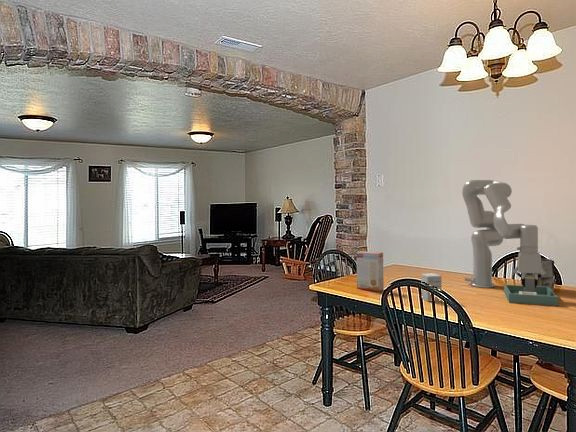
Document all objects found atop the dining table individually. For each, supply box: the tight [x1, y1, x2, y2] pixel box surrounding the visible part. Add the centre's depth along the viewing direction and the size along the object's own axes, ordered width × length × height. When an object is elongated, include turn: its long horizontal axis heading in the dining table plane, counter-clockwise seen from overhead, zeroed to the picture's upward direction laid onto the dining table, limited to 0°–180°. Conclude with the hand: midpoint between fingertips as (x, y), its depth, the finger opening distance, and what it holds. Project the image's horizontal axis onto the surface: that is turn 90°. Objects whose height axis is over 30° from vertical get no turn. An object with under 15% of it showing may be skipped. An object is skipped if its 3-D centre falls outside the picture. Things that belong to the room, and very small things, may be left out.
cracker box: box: [356, 250, 385, 292], centre depth 227 cm, size 14×6×21 cm, turn 47°
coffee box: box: [537, 258, 555, 292], centre depth 220 cm, size 9×6×16 cm
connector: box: [524, 273, 535, 291], centre depth 202 cm, size 4×4×9 cm
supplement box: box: [421, 272, 443, 302], centre depth 202 cm, size 7×7×13 cm
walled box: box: [503, 284, 559, 307], centre depth 201 cm, size 20×22×4 cm
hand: (529, 286), depth 202 cm, fingers closed on connector, 4 cm apart
